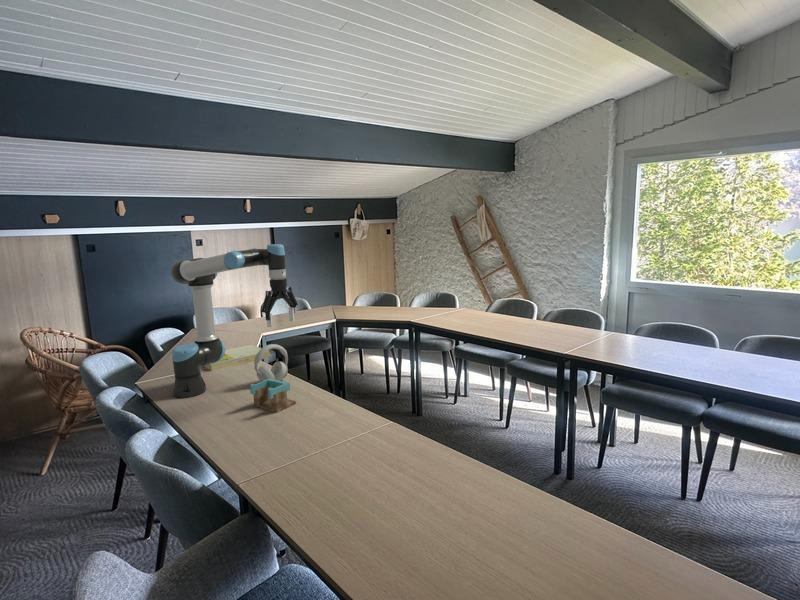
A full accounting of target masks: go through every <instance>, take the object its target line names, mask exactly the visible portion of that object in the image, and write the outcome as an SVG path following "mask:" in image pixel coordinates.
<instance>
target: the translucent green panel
mask: <svg viewBox="0 0 800 600" xmlns="http://www.w3.org/2000/svg"><path fill="white" fill-rule="evenodd" d="M262 348H263V347H259V346H256V345H254V344H248V345H245V346H244V345H243V346H240V347H235V348H234V347H233V348H230V349H225V354H224V356H223V358H222V359H221V360H219V361H217V362H215V363H212V364H209V365H206V366H203V368H206V369H207V370H208V371H211V372H214V371H218V370H222V368H223V369H227V368H229V367H234V366H238V365H243V364H248V363H252V362H255V361H254V360H255V357H256V355H257V353H258V352H259V350H260V349H262ZM268 358H270V350H268V351H267V352H266V353H265V354H264V355H263V356H262V358H261V360H264V359H268Z"/></svg>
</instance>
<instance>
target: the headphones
mask: <svg viewBox="0 0 800 600" xmlns="http://www.w3.org/2000/svg"><path fill="white" fill-rule="evenodd" d="M261 348H262V349H260V350H259V352H258V353H257V355H256V357H255V360H254V361H253V362H254V363H253V364H254V366H253V367H254V370H255V372H256V376H257V377H256V378H257V379H258V380H259V381H260V382H262V381H265V380H267V379H270V378H271V379H275V380H280V381H283V380H284V379H285V378H286V377H287V376H288V371H289V368H288V362H289V357H288V352H287V350H286V349H285V348H284V347H283V346H281V345H279V344H275V343H274V344H273V343H271V344H266V345H264V346H263V347H261ZM274 349H276V350H278V352H280V353H281V354H282V355H283V356H284V362H283V361H278V360H277V361H275V362H274V364H272V366H271V369H270V368H269V367H267V366H266V365H260V366H259V368H258V365H259V363H260V361H261V360H262V359H261V358H262V356H263V355H264V354H265V353H266V352H267V351H270V350H274Z"/></svg>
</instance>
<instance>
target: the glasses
mask: <svg viewBox="0 0 800 600" xmlns="http://www.w3.org/2000/svg"><path fill="white" fill-rule="evenodd" d="M265 386H269V389H268V398H270V399H272V398H274V396H273V395H275V394H277V393H279V392H282V391H284V390H287V392H289V391H291V383H290V382H288V381H284V380H281V381H280V380H275V379H271V378H270V379H267V380H265V381H262V382H261V381H260V382H257V383H255V384H253V383H251V384H250V385H249V389H250V390H249V391H250V395H253V394H255V393H256V392H255V391H256V390H258V389H261V388H263V387H265ZM277 386H278V387H277Z"/></svg>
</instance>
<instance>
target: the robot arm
mask: <svg viewBox="0 0 800 600" xmlns="http://www.w3.org/2000/svg"><path fill="white" fill-rule="evenodd" d="M285 252H286V251H285V246H284V245H283V244H281V243H277V244H276V243H275V244H274V243H273V244H267V245H266V248H250V249H244V250H232V251H228V252H226V253H222V254H218V255H214V256H209V257H197V258H190V259H181V260H178V261H176V262H174V263H173V265H172V266H171V269H170V275H171V278H172V279H173V280H174V281H175V282H176V283H178V284H181V285H185V284H186V285H187V286H188V288H190V289H191V290H192V291H191V292H192V299H193V309H194V310H193V311H194V318H195V328H196V335H197V336H196V337H195V338H194V342H190V343H189V342H188V343H184V344H180V345H178V346H176V347H175V348H173V350H172V354H171V355H172V357H171V358H172V365H173V374H174V383H173V386H172V396H173V397H174V398H178V397H180V399H181V398H182V399H184V398H183V397H186V398H191V397H196V396H199V395H201V394H204V393H205V392H206V391H207V384H206V383H205V381H204V378H203V377H202V376H203V375H202V374H201V373H202V371H201V368H204V366H206V365H209V364H212V363H215V362H217V361H219V360H221V359H222V358H223V356H224V354H225V350H226V346H225V343H224V341H223V340H222V339H220V336H219V335H218V334H217V333H216V327H215V317H214V309H213V307H214V306H213V299H212V298H213V296H212V287H213V286H214V280H215V279H216V278H217V277H218V274H219V273H223V272H228V271H231V270H233V271H234V270H238V269H244V268H251V267H256V266H267V267H268V277H269V287H270V290H265V295H264V296H265V297H264V299H263V302H262V307H261V310H260V312H261V313H264V315H265V320H266V326H267V328H273V326H274V325H273V313H272V309H273V307H274V305H275V303H276V302H277V301H278V300H280V299H283V300H284V301H285V303H286V304H287V305H288V306H289V307H288V320H289V322H295V313H296V311H295V308H297V306H298V301H297V299H296V297H295V295H294V293H293V289H292V287H291V286H288V281H287V280H288V279H287V278H286V277H287V267H286V253H285Z"/></svg>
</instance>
